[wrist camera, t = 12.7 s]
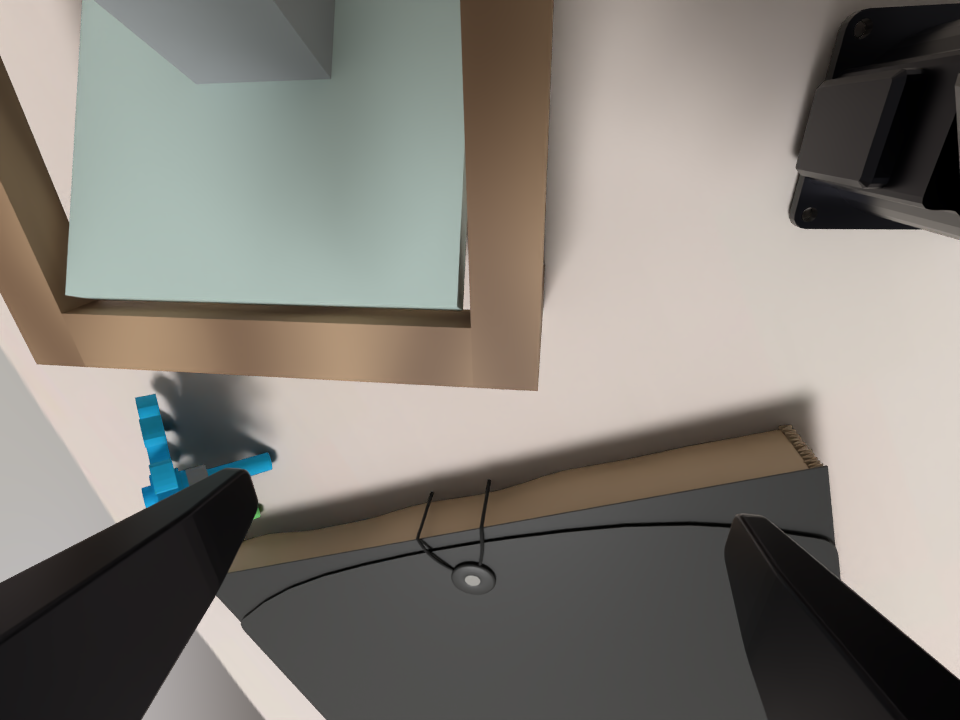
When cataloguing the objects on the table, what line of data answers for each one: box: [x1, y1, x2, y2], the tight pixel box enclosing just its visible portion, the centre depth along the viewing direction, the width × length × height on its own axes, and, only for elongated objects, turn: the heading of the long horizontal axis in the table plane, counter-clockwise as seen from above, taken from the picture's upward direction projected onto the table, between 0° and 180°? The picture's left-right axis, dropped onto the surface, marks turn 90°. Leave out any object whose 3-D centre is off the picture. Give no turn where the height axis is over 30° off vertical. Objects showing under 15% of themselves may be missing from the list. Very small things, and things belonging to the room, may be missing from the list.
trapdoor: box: [65, 0, 467, 311], centre depth 15 cm, size 13×13×1 cm
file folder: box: [216, 425, 841, 720], centre depth 29 cm, size 33×4×24 cm
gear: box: [135, 394, 272, 519], centre depth 25 cm, size 11×6×10 cm
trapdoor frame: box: [0, 0, 554, 391], centre depth 14 cm, size 18×18×7 cm
